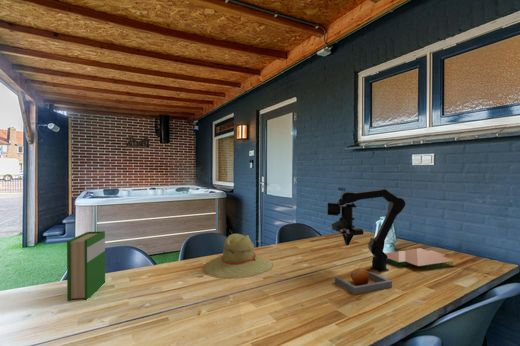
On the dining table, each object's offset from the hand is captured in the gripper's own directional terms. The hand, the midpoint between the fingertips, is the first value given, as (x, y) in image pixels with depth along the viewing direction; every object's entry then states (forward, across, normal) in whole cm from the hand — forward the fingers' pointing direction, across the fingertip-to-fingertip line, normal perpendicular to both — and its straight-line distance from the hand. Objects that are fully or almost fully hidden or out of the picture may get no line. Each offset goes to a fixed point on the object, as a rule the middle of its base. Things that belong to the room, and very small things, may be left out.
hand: (347, 245), depth 149 cm
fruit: (+12, +19, -8) cm, 24 cm away
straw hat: (+13, -26, -52) cm, 59 cm away
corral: (+12, +20, -8) cm, 25 cm away
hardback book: (+12, -18, -122) cm, 124 cm away
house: (+13, +7, +42) cm, 45 cm away
